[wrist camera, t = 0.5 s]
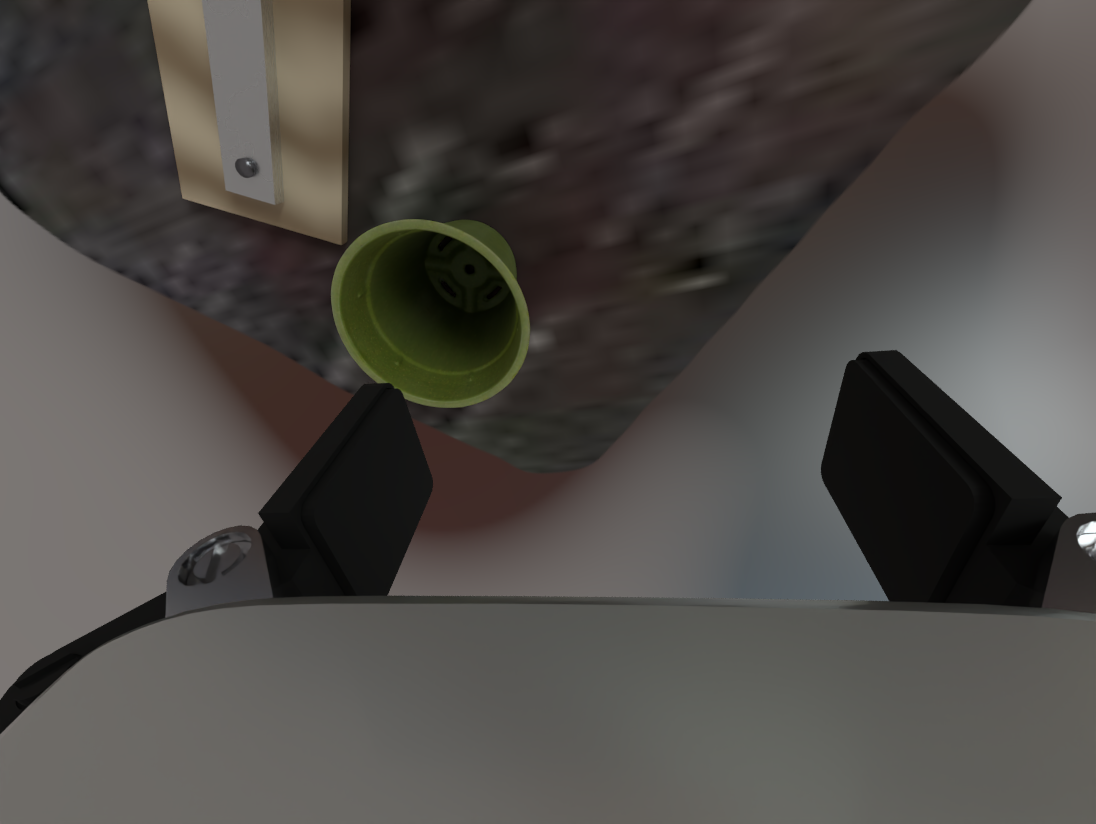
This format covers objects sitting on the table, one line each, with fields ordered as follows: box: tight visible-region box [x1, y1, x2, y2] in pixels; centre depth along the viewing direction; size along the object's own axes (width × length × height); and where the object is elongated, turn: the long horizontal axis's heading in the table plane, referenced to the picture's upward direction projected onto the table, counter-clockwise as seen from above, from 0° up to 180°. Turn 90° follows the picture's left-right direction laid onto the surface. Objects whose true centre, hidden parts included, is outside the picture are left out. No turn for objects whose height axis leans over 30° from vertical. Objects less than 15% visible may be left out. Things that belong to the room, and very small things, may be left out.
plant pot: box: [331, 219, 530, 408], centre depth 32 cm, size 12×12×11 cm
